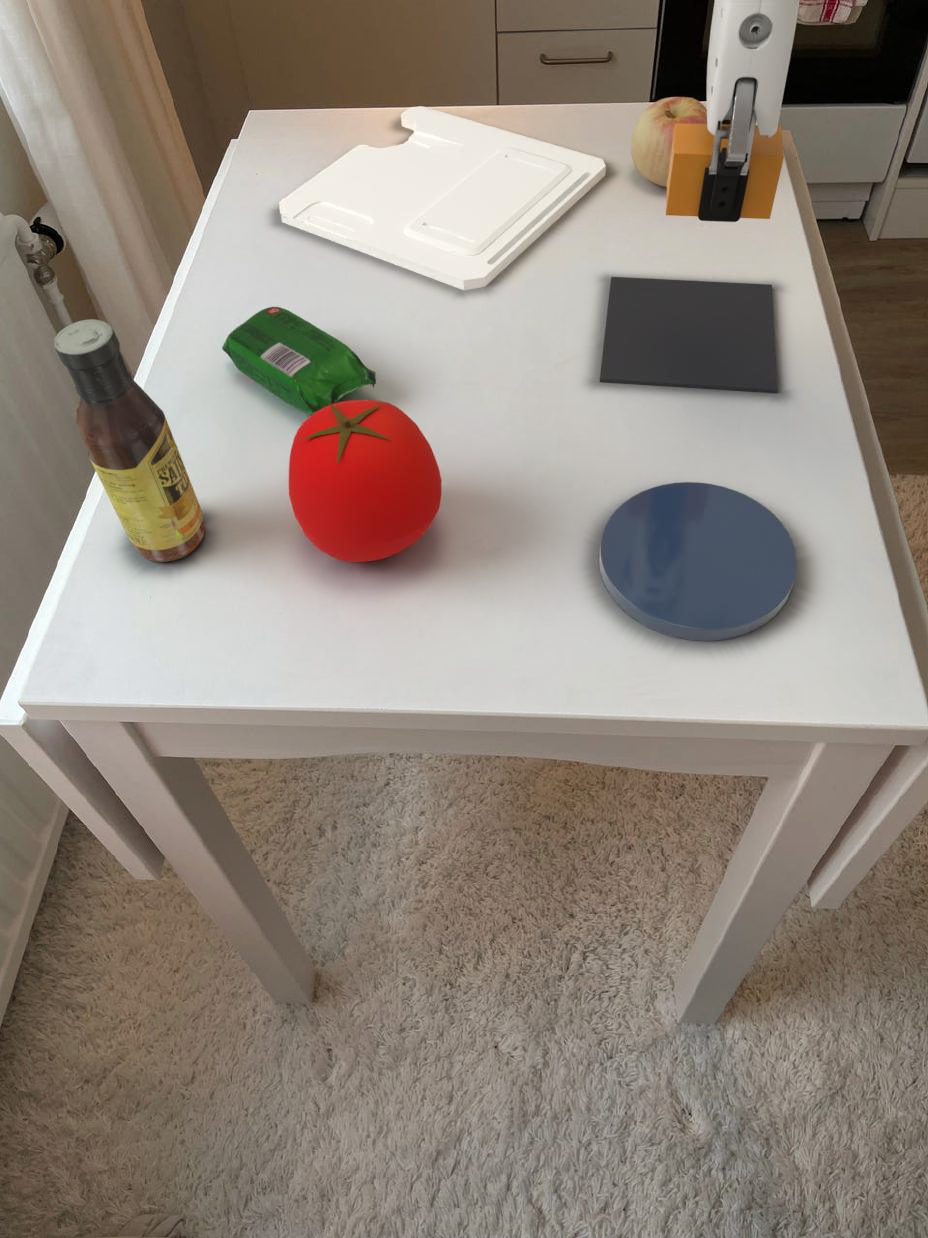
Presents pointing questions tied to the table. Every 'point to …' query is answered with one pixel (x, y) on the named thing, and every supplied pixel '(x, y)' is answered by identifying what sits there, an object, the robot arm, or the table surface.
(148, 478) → the sauce bottle
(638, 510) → the plate
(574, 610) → the table surface
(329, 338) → the snack package
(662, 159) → the apple
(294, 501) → the tomato
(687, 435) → the table surface
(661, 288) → the mat
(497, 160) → the tray
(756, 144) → the block
